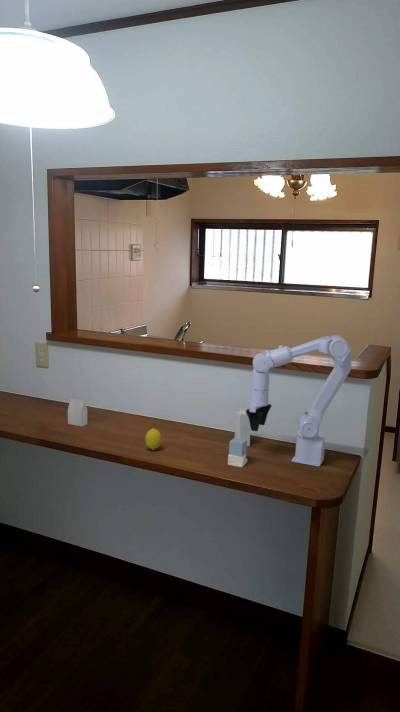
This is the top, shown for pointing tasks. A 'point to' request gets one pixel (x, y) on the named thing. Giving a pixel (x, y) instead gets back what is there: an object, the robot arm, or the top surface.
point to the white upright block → (77, 412)
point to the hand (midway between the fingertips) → (257, 427)
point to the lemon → (153, 438)
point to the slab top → (236, 458)
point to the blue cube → (237, 447)
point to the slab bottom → (238, 463)
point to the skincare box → (242, 426)
